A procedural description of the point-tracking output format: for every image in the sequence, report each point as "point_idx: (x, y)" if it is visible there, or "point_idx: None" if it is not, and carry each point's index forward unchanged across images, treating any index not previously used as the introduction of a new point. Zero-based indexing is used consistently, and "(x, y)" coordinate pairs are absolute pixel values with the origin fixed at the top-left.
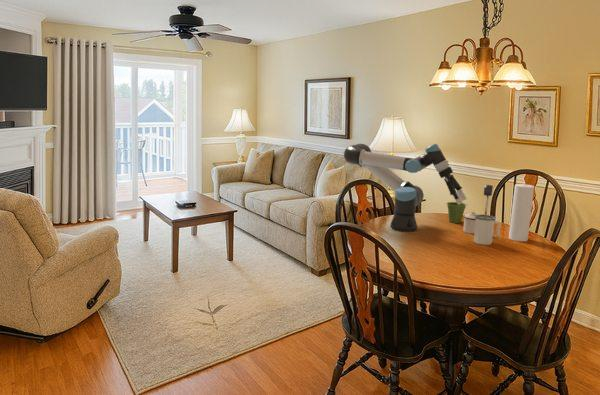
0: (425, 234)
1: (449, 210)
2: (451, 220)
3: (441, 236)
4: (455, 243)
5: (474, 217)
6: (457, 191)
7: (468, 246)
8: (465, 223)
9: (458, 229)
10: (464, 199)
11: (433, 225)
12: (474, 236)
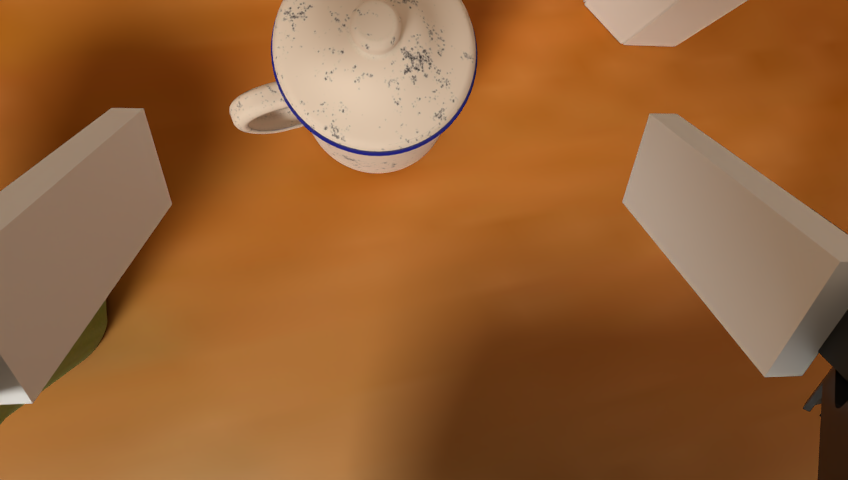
0: (675, 433)
1: (13, 411)
2: (94, 341)
3: (663, 304)
4: (795, 166)
5: (454, 13)
6: (34, 374)
7: (819, 66)
8: (436, 137)
9: (352, 221)
10: (154, 157)
11: (335, 458)
12: (708, 23)
